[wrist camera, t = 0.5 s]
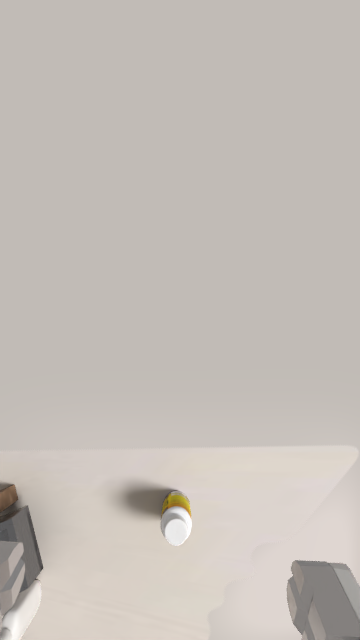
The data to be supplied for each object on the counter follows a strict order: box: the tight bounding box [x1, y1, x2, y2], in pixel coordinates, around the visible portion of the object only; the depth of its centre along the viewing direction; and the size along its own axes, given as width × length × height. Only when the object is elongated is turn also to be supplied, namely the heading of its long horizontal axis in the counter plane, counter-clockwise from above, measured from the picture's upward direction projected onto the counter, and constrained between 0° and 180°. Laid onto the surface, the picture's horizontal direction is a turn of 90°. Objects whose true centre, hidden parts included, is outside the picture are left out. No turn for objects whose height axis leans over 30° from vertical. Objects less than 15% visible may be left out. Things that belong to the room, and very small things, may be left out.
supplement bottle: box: [161, 491, 192, 546], centre depth 49 cm, size 6×6×10 cm
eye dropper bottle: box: [0, 580, 42, 640], centre depth 45 cm, size 4×6×12 cm
